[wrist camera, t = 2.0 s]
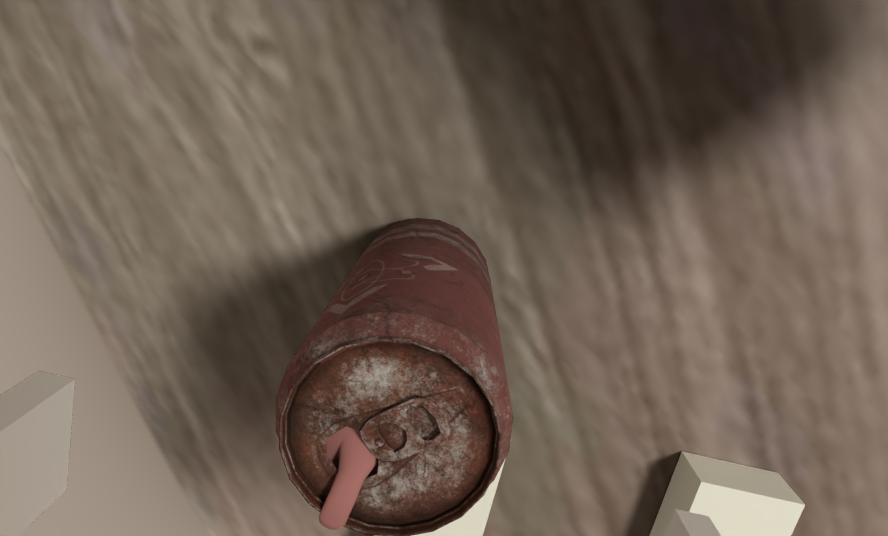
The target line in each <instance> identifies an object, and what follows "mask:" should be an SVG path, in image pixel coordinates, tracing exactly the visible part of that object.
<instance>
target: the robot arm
mask: <svg viewBox="0 0 888 536" xmlns="http://www.w3.org/2000/svg"><path fill="white" fill-rule="evenodd" d="M74 390H75V378H70V377H65V376H61V375H56V374H52V373H47V372H42V371H38V372H36V373H34V374H33V375H31V376H30V377H28V378H26V379H25V380H23V381H22V382H20V383H18V384H17V385H15V386H14V387H12V388H11V389H9V390H7V391H6V392H4V393H3V394H1V395H0V536H20V535H21V534H22V533H23V532H24V531H25V530H26V529H27V528H28V527H29V526H30V525H31V524H32V523H33V522H34V521H35V520H36V519H37V518H38V517H39V516H40V515H41V514H43V513H44V512H45V511H46V510H47V509H48V508H49V507H50V506H51V505H52V504H53V503H54V502H55V501H56V500H57V499H58V498H59V497H60V496H61V495H62V494H63V493H64V492H65V491H66V490H67V480H68V468H69V454H70V441H71V429H72V416H73V402H74ZM665 536H721V535H720V533H719V532H718V530H717V529H716V527H715V525H714V524H713V522H712V521H711V519H710V517H709V516H705V515H701V514H696V513H692V512H687V511H682V510H678V509H675V511H674V514H673V516H672V519H671V521H670V524H669V527H668V529H667V532H666V534H665Z"/></svg>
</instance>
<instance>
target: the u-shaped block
mask: <svg viewBox="0 0 888 536" xmlns="http://www.w3.org/2000/svg"><path fill="white" fill-rule="evenodd" d="M510 441H511V440H510ZM504 462H505V460H504ZM504 462H503V464H502V466H501V468H500V470H499V472H498V474H497V476H496V478H495V480H494V481H493V482H492V483H491V484H490V485H489V487H488V489H487V491H486V493H485V495H484V496H483V497H482V498H481V499H480V500H479V501H478V502H477V503H476V504H475V505H474V506H473V507H472V508H471V509H470V510H469V511H468V512H467V513H466V514H464V515H463V516H462V517H461V518H459V519H457V520H455V521H453V522H451V523H449V524H447V525H445V526H443V527H441V528H439V529H437V530H435V531H433V532H429V533H423V534H418V535H413V536H483V532H484V529H485V526H486V522H487V519H488V515H489V512H490V509H491V505H492V502H493V499H494V495H495V492H496V489H497V485H498V482H499V478H500V475H501V472H502V468H503V465H504ZM804 506H805V504H804V503H803V502H802V501H801V500H800V498H799V497H798V496H797V495H796V494H795V493H794V491H793V490H792V489H791V488H790V487H789V486H788V484H787V483H786V482H785V481H784V480H783V479H782V477H781V476H780V475H779V474H778V473H776V472H772V471H767V470H763V469H758V468H754V467H750V466H745V465H741V464H736V463H732V462H727V461H723V460H718V459H714V458H709V457H705V456H700V455H696V454H692V453H687V452H683V451H682V452H681V455H680V457H679V460H678V463H677V465H676V468H675V470H674V473H673V476H672V478H671V481H670V483H669V486H668V488H667V491H666V494H665V496H664V499H663V501H662V504H661V507H660V509H659V512H658V514H657V517H656V520H655V522H654V525H653V527H652V530H651V532H650V535H649V536H665V534H666V532H667V529H668V527H669V524H670V521H671V519H672V516H673V514H674V511H675V509H678V510H682V511H687V512H692V513H696V514H701V515H705V516H709V517H710V519H711V521H712V522H713V524H714V525H715V527H716V529H717V530H718V532H719V533H720V535H721V536H791V535H792V532H793V530H794V528H795V526H796V524H797V522H798V519H799V517H800V515H801V513H802V511H803V509H804ZM373 536H374V535H373Z"/></svg>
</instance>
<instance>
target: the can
mask: <svg viewBox="0 0 888 536" xmlns="http://www.w3.org/2000/svg"><path fill="white" fill-rule="evenodd" d="M512 423H513V413H512V407H511V401H510V395H509V389H508V383H507V377H506V371H505V365H504V359H503V353H502V347H501V341H500V335H499V329H498V323H497V317H496V311H495V305H494V299H493V293H492V287H491V282H490V277H489V272H488V268H487V264H486V260H485V258H484V256H483V255H482V253H481V251H480V250H479V248H478V247H477V245H476V243H475V242H474V241H473V240H472V239H471V238H469V237H468V236H467V235H466V234H465V233H464V232H462V231H461V230H460V229H459V228H457V227H454V226H452V225H449V224H447V223H445V222H442V221H440V220H433V219H421V218H416V219H412V220H407V221H403V222H399V223H395V224H394V225H392V226H391V227H389V228H387V229H386V230H384V231H382V232H381V233H379V234H378V235H377V236H376V237H375V238H374V240H373V241H372V242H371V243H370V244H369V245H368V247H367V248H366V249H365V250H364V252H363V253H362V255H361V256H360V258H359V259H358V261H357V262H356V264H355V265H354V267H353V268H352V270H351V271H350V273H349V274H348V276H347V277H346V279H345V280H344V282H343V283H342V285H341V286H340V288H339V289H338V291H337V292H336V294H335V295H334V297H333V298H332V300H331V301H330V303H329V305H328V306H327V308H326V309H325V311H324V312H323V314H322V315H321V317H320V318H319V320H318V321H317V323H316V324H315V326H314V327H313V329H312V330H311V332H310V333H309V335H308V336H307V338H306V339H305V341H304V342H303V344H302V345H301V347H300V348H299V350H298V351H297V353H296V354H295V356H294V357H293V359H292V360H291V362H290V363H289V365H288V367H287V369H286V372H285V375H284V377H283V380H282V383H281V386H280V388H279V391H278V394H277V396H276V433H277V435H278V438H279V450H280V453H281V456H282V459H283V461H284V464H285V467H286V470H287V473H288V476H289V479H290V480H291V481H292V483H293V484H294V485H295V486H296V488H297V489H298V490H299V492H300V493H301V494H302V496H303V497H304V498H305V500H306V501H307V502H308V503H309V504H310V505H311V506H312V507H314V508H315V509H316V510H318V511H319V512H320V514H319V521H320V523H321V524H322V525H323V526H324V527H326V528H328V529H334V530H335V529H339V528H341V527H342V526H344V527H347V528H350V529H352V530H355V531H358V532H361V533H363V534H366V535H374V536H413V535H418V534H423V533H429V532H433V531H435V530H437V529H439V528H441V527H443V526H445V525H447V524H449V523H451V522H453V521H455V520H457V519H459V518H461V517H462V516H463V515H464V514H466V513H467V512H468V511H469V510H470V509H471V508H472V507H473V506H474V505H475V504H476V503H477V502H478V501H479V500H480V499H481V498H482V497H483V496H484V495H485V493H486V491H487V489H488V487H489V485H490V484H491V483H492V482H493V481H494V480H495V478H496V476H497V474H498V472H499V470H500V468H501V466H502V464H503V462H504V460H505V458H506V456H507V454H508V452H509V448H510V440H511V432H512Z"/></svg>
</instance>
